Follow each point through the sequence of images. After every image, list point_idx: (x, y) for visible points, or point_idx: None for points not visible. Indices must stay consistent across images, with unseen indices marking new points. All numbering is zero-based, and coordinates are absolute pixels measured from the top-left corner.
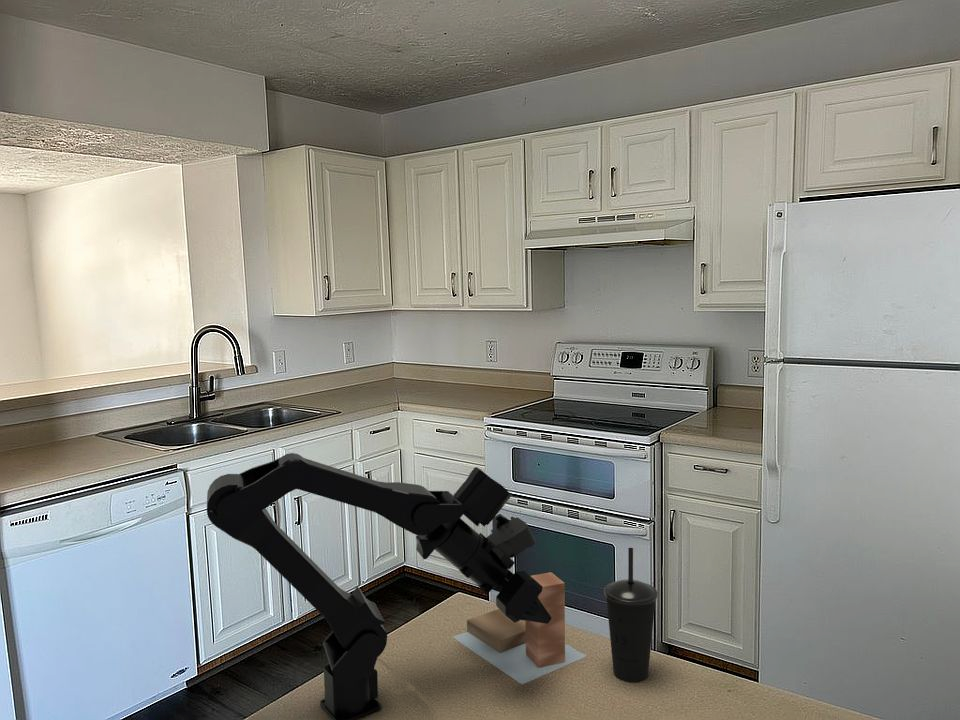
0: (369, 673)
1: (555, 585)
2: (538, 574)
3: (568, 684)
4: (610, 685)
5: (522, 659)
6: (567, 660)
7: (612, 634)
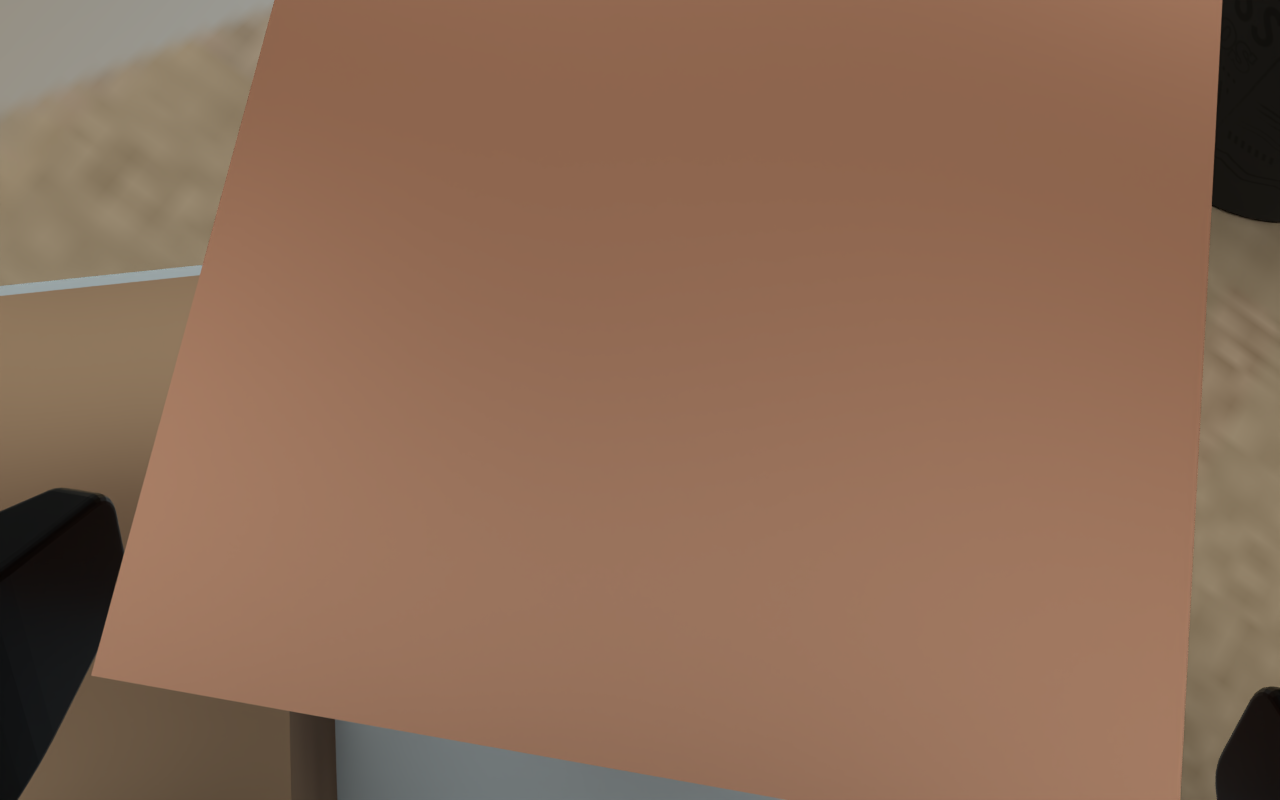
0: None
1: (1198, 190)
2: (232, 176)
3: None
4: (1266, 284)
5: (582, 766)
6: None
7: None
